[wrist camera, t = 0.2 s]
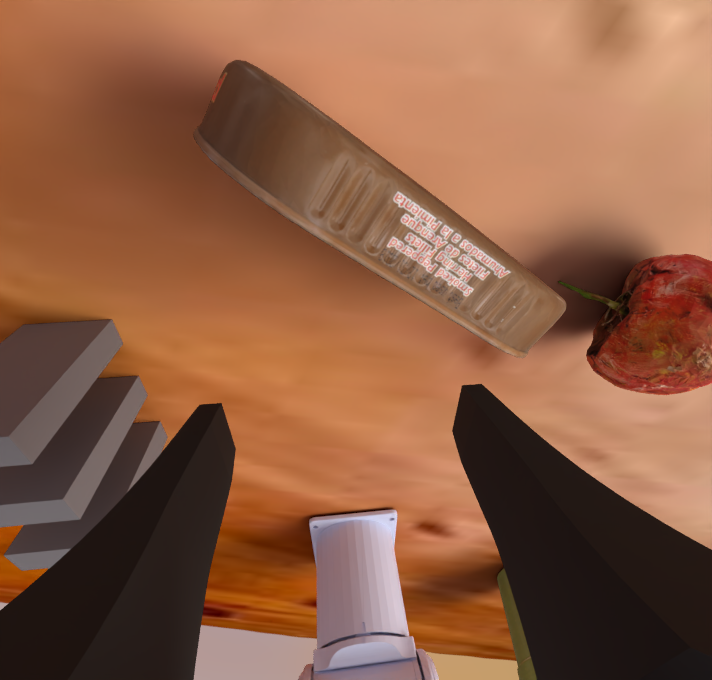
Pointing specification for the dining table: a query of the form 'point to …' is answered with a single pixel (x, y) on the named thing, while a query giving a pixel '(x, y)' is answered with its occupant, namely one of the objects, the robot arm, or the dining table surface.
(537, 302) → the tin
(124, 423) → the domino
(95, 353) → the domino
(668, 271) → the pomegranate
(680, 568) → the robot arm
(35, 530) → the domino
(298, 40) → the dining table surface
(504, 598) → the plant pot
